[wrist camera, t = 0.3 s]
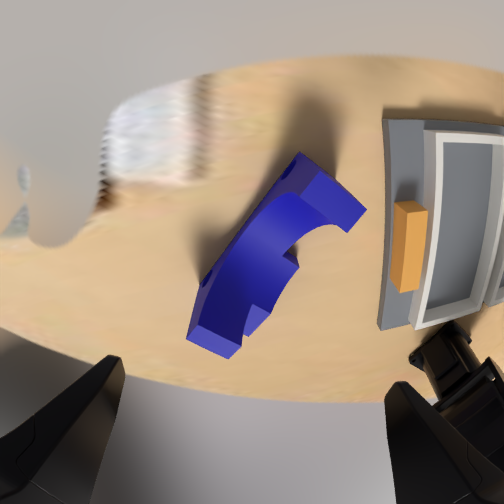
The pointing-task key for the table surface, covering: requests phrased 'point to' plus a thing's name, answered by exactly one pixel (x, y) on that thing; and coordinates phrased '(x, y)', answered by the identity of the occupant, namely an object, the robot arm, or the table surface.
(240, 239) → the blue curved cradle
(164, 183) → the table surface
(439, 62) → the table surface
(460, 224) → the dock board
